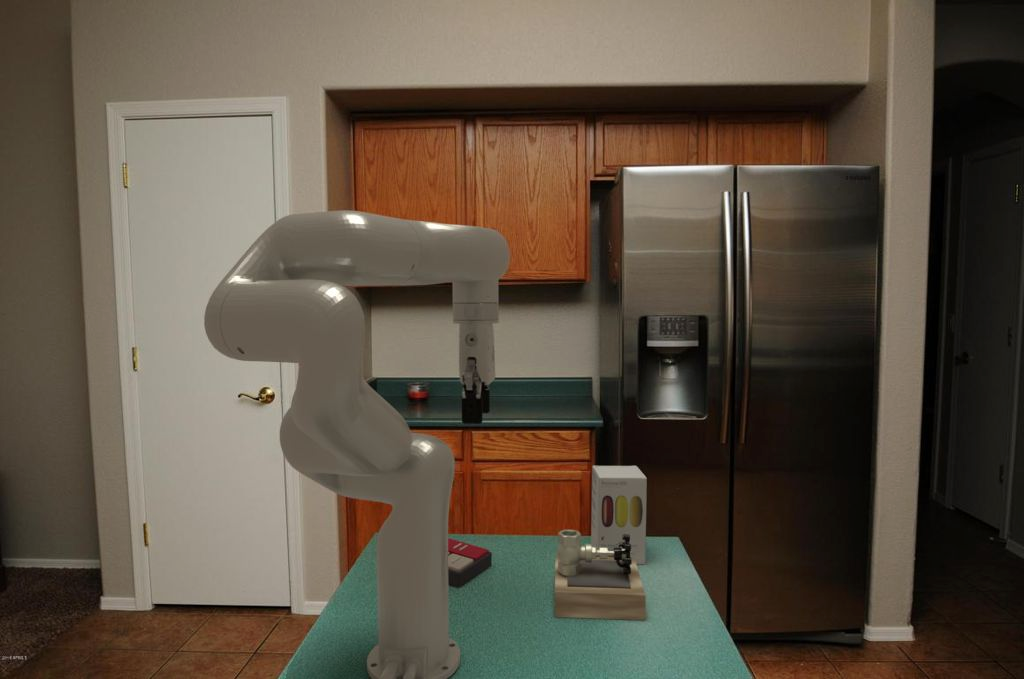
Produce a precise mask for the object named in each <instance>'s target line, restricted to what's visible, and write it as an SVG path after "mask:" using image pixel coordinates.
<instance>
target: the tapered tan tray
mask: <svg viewBox="0 0 1024 679" xmlns="http://www.w3.org/2000/svg"><path fill="white" fill-rule="evenodd" d="M631 560H632V564H631V565H630V567H631V574H623V569H626V568H622V567H619V566H618V565H617V563H616V560H614V558H608V559H599V557H596V559H592V562H591V563H590V562H585V560H581V561H580V562H581V572H580V573H579V574H578V575H575V576H566V575H563V574H561V573H560V572H559V571H558V561H559V559H558V556H557V555H556V556H555V566H554V567H555V568H554V569H555V570H554V575H555V576H554V618H571V619H572V618H573V619H574V618H575V619H599V620H602V619H603V620H628V621H646V592H645V589H644V586H643V583H642V578H641V576H640V572H639V569H638V566H637V565H638V564H636V561H635V558H631ZM620 563H622V560H620Z"/></svg>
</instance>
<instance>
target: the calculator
mask: <svg viewBox="0 0 1024 679" xmlns="http://www.w3.org/2000/svg"><path fill="white" fill-rule="evenodd" d="M492 555H493V553H492V552H491V551H490V550H489V549H487V548H484V547H481V546H477V545H474V544H470V543H468V542H463V541H460V540H457V539H453V538H450V537H448V587H449V586H450V587H452V588H462V587H463V586H465V585H466V584H467V583H470V582H471V581H472V580H473V579H475V578H476V577H477V576H479V575H480V574H482V573H483V572H485V571H486V570H488V569H489V568H490V567H492V561H493V560H492Z"/></svg>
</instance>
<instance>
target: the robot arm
mask: <svg viewBox="0 0 1024 679" xmlns="http://www.w3.org/2000/svg"><path fill="white" fill-rule="evenodd" d="M510 260H511V253H510V247H509V245H508V242H507V240H506V239H505V236H503V235H502V234H501V233H500V232H499V231H498V230H496V229H492V228H487V227H481V226H475V225H463V224H452V223H451V224H450V223H440V222H434V221H423V220H412V219H411V220H410V219H405V218H398V217H392V216H387V215H381V214H377V213H371V212H365V211H358V210H349V209H348V210H347V209H345V210H343V209H342V210H329V211H319V212H318V211H317V212H316V211H315V212H308V213H307V212H306V213H293V214H288V215H285V216H283V217H281V218H279V219H278V220H275V222H274V223H272V224H271V225H270V226H268V227H267V228H266V229H265V230H264V231H263V232H262V233H261V234H260V235H259V236H258V237H257V239H255V241H254V242H253V243H252V244H251V245H250V246H249V247H248V249H247V250H246V251H245V252H244V254H243V255H242V256H241V257H240V258H239V260H237V262H236V263H235V264H234V265H233V267H231V269H230V270H229V271H228V272H227V274H226V275H225V276H224V277H223V278H222V280H220V282H219V284H218V285H217V286H216V287H215V289H213V291H212V293H211V294H210V297H209V299H208V302H207V304H206V307H205V311H204V317H203V318H204V323H203V325H204V330H205V334H206V337H207V339H208V341H209V343H210V344H211V345H212V347H213V348H214V349H215V350H216V351H217V352H219V353H220V354H221V355H223V356H226V357H227V358H230V359H232V360H233V359H234V360H237V361H242V362H263V363H264V362H265V363H288V364H289V363H291V364H298V372H297V379H296V381H297V382H296V386H295V390H294V392H293V396H292V398H291V403H290V407H289V408H288V409H287V410H286V412H285V413H284V416H283V417H282V419H281V423H280V427H279V442H280V448H281V452H282V454H283V456H284V458H285V459H286V461H287V463H288V464H289V465H290V466H291V468H293V469H294V470H296V471H297V472H299V473H300V474H302V475H304V476H305V477H307V478H308V479H310V480H311V481H314V482H315V483H317V484H318V485H321V486H322V487H324V488H325V489H328V490H329V491H330V492H333V493H335V494H337V495H340V496H342V497H346V498H349V499H357V500H362V501H369V502H371V501H372V502H379V503H383V504H387V505H391V507H392V508H391V512H390V513H389V515H388V517H387V518H386V520H385V521H384V522H383V523H382V525H381V527H380V529H379V531H378V533H377V534H378V535H377V538H376V539H377V540H376V561H377V562H376V563H377V564H376V565H377V566H376V569H377V570H376V572H377V578H376V579H377V628H378V629H377V633H378V634H377V635H378V636H377V638H378V640H377V641H378V644H376V645H375V646H374V647H373V648H372V649H371V650H370V652H369V653H368V655H367V659H366V671H367V674H368V676H369V677H370V678H371V679H449V678H450V677H451V676H452V675H453V674H454V673H455V672H456V671H457V670H458V669H459V666H460V664H461V650H460V647H459V645H458V643H457V642H456V641H455V640H454V639H452V638H451V637H450V621H449V620H450V613H449V610H450V607H449V605H450V604H449V602H450V601H449V598H450V597H449V585H448V538H449V514H450V513H449V512H450V503H451V502H450V500H451V495H452V488H453V482H454V478H455V470H456V465H455V464H456V460H455V455H454V452H453V450H452V449H451V447H450V446H449V444H448V443H446V442H445V440H443V439H441V438H439V437H438V436H434V435H430V434H427V433H419V432H417V433H416V432H412V431H411V429H410V426H409V425H408V423H407V421H406V420H405V419H404V417H403V416H402V415H401V414H400V412H399V411H397V410H396V408H394V407H393V406H392V405H391V404H390V403H389V402H388V401H387V400H386V399H384V397H383V396H381V395H380V394H379V393H378V392H377V391H376V390H375V389H373V388H372V387H371V385H369V383H368V382H367V381H366V379H365V378H364V354H365V353H364V351H365V338H366V321H365V315H364V311H363V309H362V308H363V307H362V305H361V304H360V301H359V300H358V298H357V297H356V295H355V294H354V293H353V292H352V291H351V290H350V289H348V288H347V286H349V287H351V286H352V287H362V286H363V287H365V286H367V287H369V286H370V287H371V286H372V287H373V286H374V287H375V286H399V287H400V286H401V287H403V286H427V285H438V284H445V283H452V324H459V327H458V328H459V332H458V333H459V334H458V338H459V339H458V340H459V341H458V372H459V374H458V375H459V382H460V383H461V385H462V392H461V395H462V397H461V423H462V424H464V425H465V424H468V425H472V424H473V425H476V424H477V425H478V424H479V425H480V424H482V423H483V414H488V413H490V411H491V409H490V408H491V407H490V406H491V405H490V404H491V403H490V393H491V392H490V384H491V383H492V382H493V381H495V378H496V360H495V358H496V357H495V353H496V352H495V334H494V324H499V323H500V322H499V318H500V316H499V304H500V303H499V280H500V279H502V278H503V277H504V275H505V274H506V273H507V271H508V269H509V266H510Z"/></svg>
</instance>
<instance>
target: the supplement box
mask: <svg viewBox="0 0 1024 679" xmlns="http://www.w3.org/2000/svg"><path fill="white" fill-rule="evenodd" d="M591 468H592V469H591V470H592V471H591V515H590V516H591V517H590V518H591V524H590V525H591V526H590V528H591V530H590V534H591V535H590V544H592V547H593V548H596V550H599V548H608V550H610V551H613V549H614V548H616V545H617V544H618V543H620V542H624V540H622V535H624V534H629V535H630V541H629V544H631V551H630V557H631V558H635V561H636V565H646V547H647V545H646V541H647V540H646V539H647V536H646V535H647V533H646V532H647V495H648V494H647V490H648V489H647V486H648V483H647V480H648V479H647V478H648V477H646V475H645V474H644V473H643V471H642V470H641V469H640V468H639V467H638V466H637V465H592V467H591ZM619 548H622V546H621V547H619ZM608 558H614V557H608Z"/></svg>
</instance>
